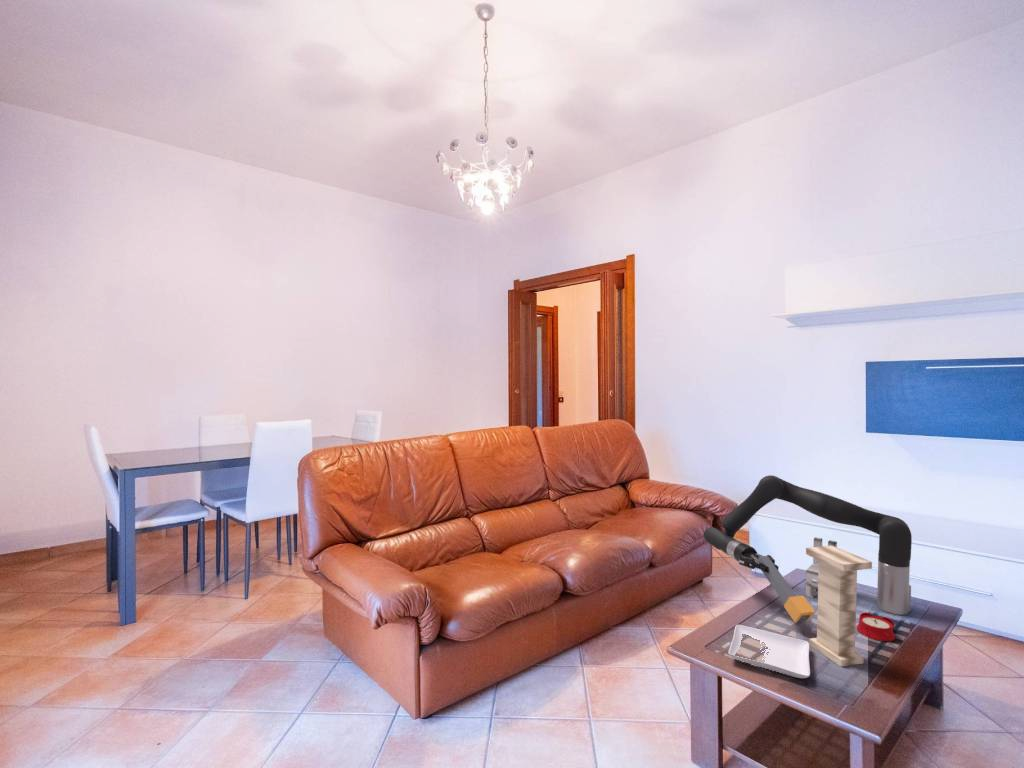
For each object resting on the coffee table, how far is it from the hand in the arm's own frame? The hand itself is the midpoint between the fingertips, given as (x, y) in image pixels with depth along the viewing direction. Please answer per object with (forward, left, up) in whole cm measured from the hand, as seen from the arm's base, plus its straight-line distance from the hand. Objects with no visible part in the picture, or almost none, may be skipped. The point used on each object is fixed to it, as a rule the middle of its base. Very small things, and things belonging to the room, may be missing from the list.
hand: (772, 569), depth 182 cm
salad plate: (+21, +24, -16) cm, 36 cm away
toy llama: (-30, -9, -16) cm, 35 cm away
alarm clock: (-25, +19, -16) cm, 35 cm away
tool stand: (0, +27, -15) cm, 31 cm away
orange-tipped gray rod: (0, +4, -6) cm, 7 cm away
